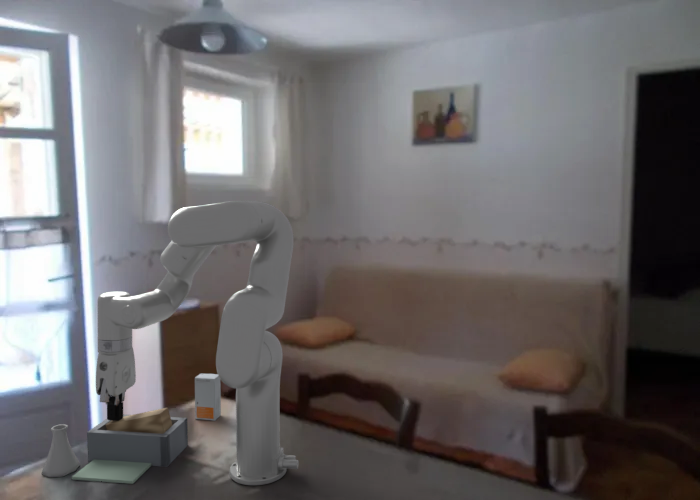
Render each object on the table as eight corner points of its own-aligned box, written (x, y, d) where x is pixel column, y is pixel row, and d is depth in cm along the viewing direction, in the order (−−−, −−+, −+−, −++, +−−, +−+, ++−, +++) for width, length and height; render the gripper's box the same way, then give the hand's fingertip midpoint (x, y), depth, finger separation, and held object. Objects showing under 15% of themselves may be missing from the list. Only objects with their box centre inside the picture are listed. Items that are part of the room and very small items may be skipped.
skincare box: (194, 419, 147) (193, 377, 146) (201, 413, 151) (200, 372, 150) (215, 421, 146) (214, 378, 145) (221, 415, 150) (220, 374, 149)
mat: (151, 465, 121) (151, 463, 121) (132, 483, 113) (132, 481, 113) (94, 461, 123) (93, 459, 123) (71, 479, 115) (71, 476, 115)
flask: (63, 480, 114) (61, 435, 114) (34, 476, 116) (32, 432, 115) (86, 464, 122) (84, 421, 121) (59, 461, 123) (57, 419, 122)
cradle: (187, 445, 131) (187, 417, 131) (167, 466, 120) (166, 436, 120) (114, 440, 134) (113, 413, 133) (87, 461, 123) (86, 432, 122)
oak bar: (173, 427, 128) (167, 407, 127) (165, 434, 124) (159, 413, 123) (120, 437, 130) (115, 418, 129) (111, 445, 126) (105, 424, 125)
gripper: (112, 354, 118) (112, 433, 119) (146, 337, 133) (145, 408, 134) (80, 351, 119) (81, 430, 120) (117, 335, 133) (117, 406, 135)
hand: (115, 419), depth 127 cm, fingers closed
